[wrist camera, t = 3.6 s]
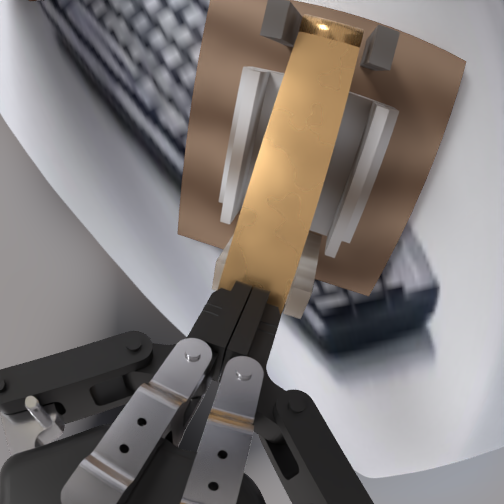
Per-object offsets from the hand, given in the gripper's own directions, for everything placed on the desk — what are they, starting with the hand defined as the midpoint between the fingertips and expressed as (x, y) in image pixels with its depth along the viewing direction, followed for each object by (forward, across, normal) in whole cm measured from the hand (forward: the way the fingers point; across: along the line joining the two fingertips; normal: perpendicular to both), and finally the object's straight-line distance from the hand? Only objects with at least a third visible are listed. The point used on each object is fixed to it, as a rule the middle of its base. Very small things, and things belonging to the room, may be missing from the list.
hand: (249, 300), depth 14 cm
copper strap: (+4, 0, -5) cm, 6 cm away
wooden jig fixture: (+14, 0, -4) cm, 14 cm away
